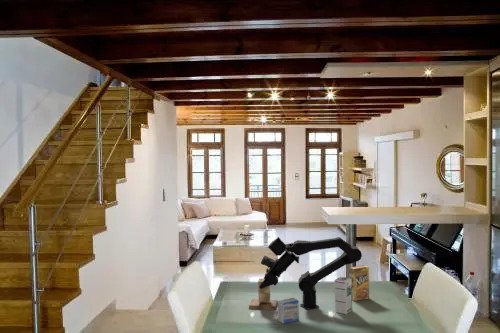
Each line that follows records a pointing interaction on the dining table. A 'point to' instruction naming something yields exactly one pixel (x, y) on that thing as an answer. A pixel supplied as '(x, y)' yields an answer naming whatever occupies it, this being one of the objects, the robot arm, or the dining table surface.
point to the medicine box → (288, 310)
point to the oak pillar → (263, 292)
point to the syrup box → (343, 295)
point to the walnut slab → (263, 304)
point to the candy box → (359, 282)
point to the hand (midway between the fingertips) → (260, 286)
